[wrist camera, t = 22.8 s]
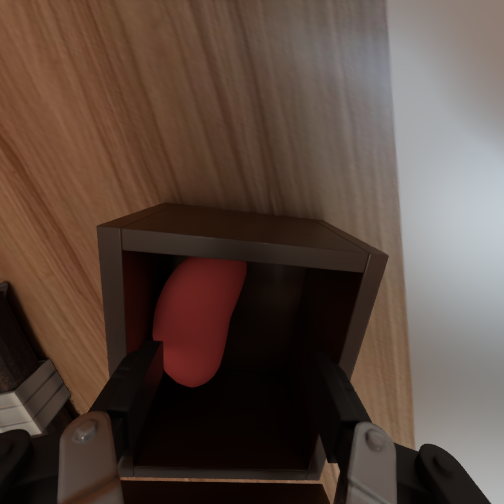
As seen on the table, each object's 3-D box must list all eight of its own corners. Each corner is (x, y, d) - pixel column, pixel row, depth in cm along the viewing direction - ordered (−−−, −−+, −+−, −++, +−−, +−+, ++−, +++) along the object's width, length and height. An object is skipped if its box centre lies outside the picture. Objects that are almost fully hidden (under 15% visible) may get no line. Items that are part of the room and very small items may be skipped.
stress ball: (163, 327, 20) (119, 385, 14) (194, 227, 18) (159, 241, 12) (221, 347, 20) (204, 413, 14) (258, 250, 18) (257, 276, 12)
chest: (163, 202, 18) (95, 225, 10) (323, 220, 19) (390, 255, 11) (163, 366, 23) (117, 477, 15) (291, 373, 24) (319, 481, 16)
